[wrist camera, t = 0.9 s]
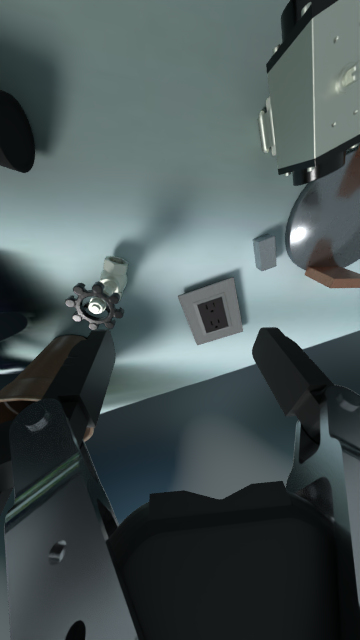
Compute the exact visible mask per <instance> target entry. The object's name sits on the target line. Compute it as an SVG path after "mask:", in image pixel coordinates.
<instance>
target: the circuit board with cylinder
mask: <svg viewBox="0 0 360 640" xmlns="http://www.w3.org/2000/svg"><path fill="white" fill-rule="evenodd" d="M34 159H35V145H34V138H33V134H32V130H31V127H30V124H29V121H28V119H27V116H26V114H25V112H24V110H23V109H22V107H21V105H20V104H19V103H18V101H17V100H16V99H15V98H14V97H13V96H12V95H11V94H9V93H7V92H5V91H2V90H0V165H1V166H4V167H7V168H10V169H13V170H16V171H19V172H22V173H26V172H28V171H30V170H31V168H32V166H33V164H34Z"/></svg>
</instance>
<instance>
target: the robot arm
mask: <svg viewBox="0 0 360 640" xmlns="http://www.w3.org/2000/svg"><path fill="white" fill-rule="evenodd" d="M252 355H253V358H254V360H255V362H256V364H257V365H258V367H259V369H260V371H261V373H262V374H263V376H264V378H265V380H266V382H267V384H268V385H269V387H270V389H271V391H272V392H273V394H274V396H275V398H276V400H277V401H278V403H279V405H280V407H281V409H282V410H283V412H284V414H285V416H297V418H298V419H299V421H298V422H297V424H296V435H295V447H294V448H295V449H294V459H293V466H292V470H291V472H290V474H289V476H288V479H287V483H286V488H285V486H284V484H283V481H277V482H267V483H257V484H251V485H249V486H247V487H245V488H243V489H241V490H239V491H237V492H235V493H234V494H232V495H230V496H228V497H226V498H225V499H220V500H219V499H214V498H210V497H207V496H203V495H199V494H195V493H191V492H188V491H174V492H164V493H154V494H150V500H149V502H148V503H146V504H144V505H142V506H141V507H139V508H138V509H136V510H135V511H134V512H132V513H131V514H130V515H129V516H128V517H127V518H126V519H125V520H124V521H123V522H122V523H121V524H120V525H119V524H118V522H117V519H116V517H115V514H114V512H113V509H112V507H111V504H110V502H109V499H108V497H107V495H106V493H105V491H104V489H103V487H102V485H101V483H100V480H99V478H98V475H97V473H96V470H95V468H94V465H93V463H92V460H91V458H90V455H89V452H88V450H87V447H86V445H85V442H84V440H83V437H84V434H85V431H86V428H91V427H96V425H97V421H98V418H99V414H100V411H101V408H102V404H103V401H104V397H105V394H106V390H107V387H108V384H109V380H110V377H111V373H112V370H113V366H114V363H115V349H114V344H113V340H112V336H111V332H110V330H109V329H102V330H92V331H91V333H90V335H89V337H88V339H87V340H81V341H80V342H79V343H77V344H76V345H75V346H74V347H73V348H72V349H71V351H70V353H69V354H68V356H67V358H66V359H65V361H64V363H63V366H61V368H60V369H59V371H58V373H57V374H56V376H55V378H54V379H53V381H52V383H51V384H50V386H49V388H48V389H47V391H46V393H45V394H44V396H43V397H42V399H41V400H39V401H36V402H34V403H32V404H31V405H29V406H27V407H26V408H25V409H23V410H22V411H21V412H20V413H19V414H18V415H17V416H16V418H15V419H12V420H10V421H7V422H3V423H0V515H1V513H2V511H3V509H4V506H5V504H6V502H7V500H8V498H9V495H10V494H11V491H12V489H13V487H14V490H15V503H14V506H13V507H12V508H11V509H10V510H9V511H8V513H7V515H6V519H5V528H4V533H5V551H6V568H7V586H8V603H9V619H10V637H11V640H360V395H358V394H357V393H355V392H354V391H352V390H350V389H348V388H346V387H343V386H339V385H334V384H333V383H332V382H331V381H330V380H329V379H328V377H327V376H326V375H325V374H324V373H323V372H322V371H321V370H320V369H319V368H318V366H317V365H316V364H315V363H314V362H313V361H312V360H311V359H309V357H308V355H307V354H306V353H305V352H303V350H302V349H301V348H300V347H299V346H298V344H297V343H295V342H294V341H292V340H291V339H290V338H288V337H285V335H284V334H283V333H282V332H281V331H280V330H279V329H278V328H276V327H268V328H261V329H260V330H259V333H258V335H257V338H256V341H255V343H254V346H253V349H252Z"/></svg>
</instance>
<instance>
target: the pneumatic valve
mask: <svg viewBox="0 0 360 640" xmlns="http://www.w3.org/2000/svg"><path fill="white" fill-rule="evenodd" d="M281 29H282V42H283V43H282V44H281V45H280V44H279V45H277V46H276V47H275V48H274V49H273V56H272V57H271V59H270V60H269V61H268V63H267V64H266V67H267V76H268V84H269V93H270V96H269V97H268V98H267V99H266V106H267V112H266V113H265V112H264V111H263V110H262V111H260V114H259V119H258V124H259V131H260V138H261V145H262V151H264V153H266V152H268V151H269V148H270V147H272V155H273V156H275V155H276V156H277V165H278V174H279V175H281V174H285V176H288V175H290V174H291V172H292V173H293V185H294V186H298V185H303V184H306V183H309V182H312V181H315V180H318V179H320V178H322V177H325V176H327V175H329V174H331V173H333V172H335V171H337V170H338V169H340V168H341V167H343V166H344V164H345V157H346V150H347V149H349V148H350V149H352V148H355V147H357V146H358V143H360V0H290V1H289V3H288V4H287V6H286V7H285V9H284V11H283V13H282V15H281Z"/></svg>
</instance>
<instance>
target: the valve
mask: <svg viewBox="0 0 360 640" xmlns="http://www.w3.org/2000/svg"><path fill="white" fill-rule="evenodd" d="M103 269H104V270H103V271H102V273H101V277H100V280H101V281H100V282H96V283H95V284H94V285H93V287H92V290H88V291H87V290H86V289H85V288H84V287H85V285H84V284H83V283H78V284H77V285H76V286H75V287H74V288H73V291H74V293H76V294H77V295H78V298H77V299H75V298H74V296H69V297H68V298H67V299H66V301H65V303H66V305H67V306H69V307H75V308H76V309H77V311H76V312H75V313H74V315H73V316H72V318H73V320H74V321H77V322H80V321H81V320H82V319H85V320H87V321H89V328H90V329H91V330H96V329H97V328H98V326H99V325H100V324H101V323H103V324H105V326H106V327H107V328H108V329H112V328H113V327H114V325H115V323H116V321H115V320H113V321H112V318H113V317H116V318H122V317H123V314H124V310H123V308H120V309H116V308H115V304H117V303H118V302H119V301H120V300H121V297H122V294H123V289H124V288H125V286H126V284H127V275H126V272H127V269H128V262H127V261H126V260H124V259H122V258H119V257H115V256H107V257H106V258H105V260H104V268H103ZM89 296H93V298H92V299H91V300H90V301H89V302H86V303H84V304H83V305H82V301H83V299H84V298H86V297H89ZM88 307H89V310H90V311H91V312H92V313H94V314H99V313H102V312H103V311H104V310H107V311H108V315H107V316H106V317H103V318H97V317H93V316H91V315H89V314H88V313H87V312H86V311H85V309H86V308H88Z"/></svg>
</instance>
